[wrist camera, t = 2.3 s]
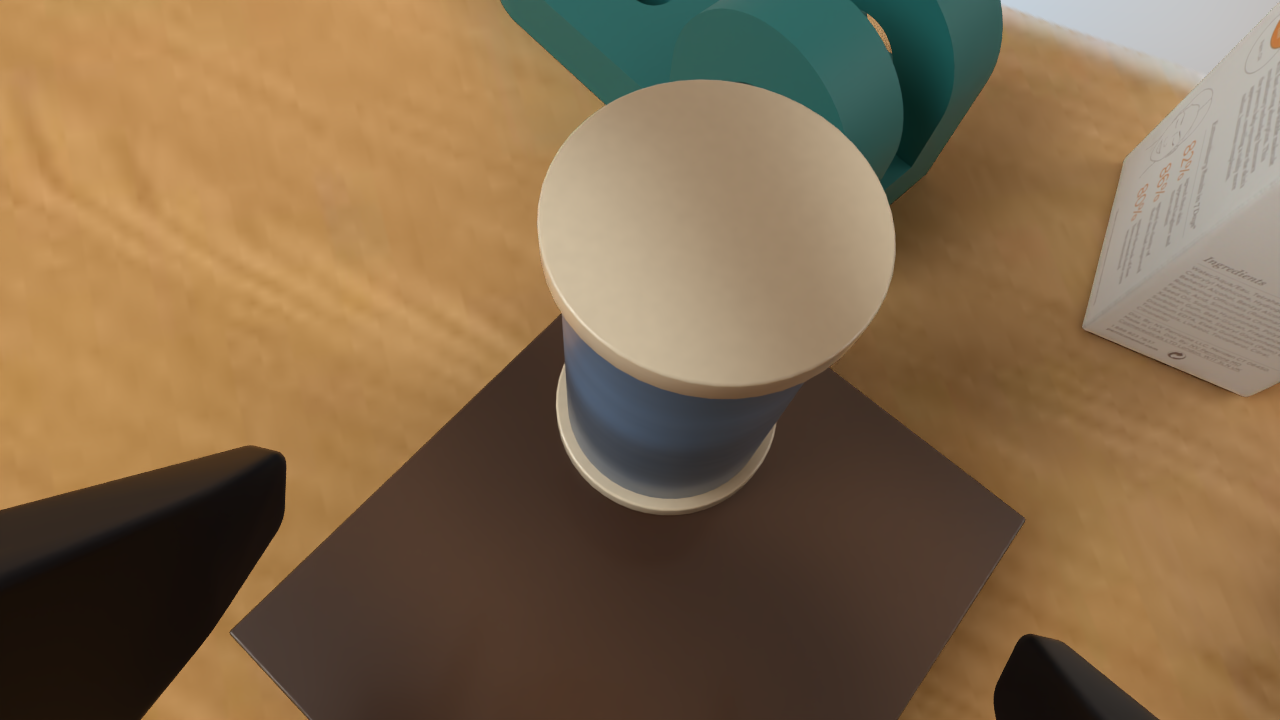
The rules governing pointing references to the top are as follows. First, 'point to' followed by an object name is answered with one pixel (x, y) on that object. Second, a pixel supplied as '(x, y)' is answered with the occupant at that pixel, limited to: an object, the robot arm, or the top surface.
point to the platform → (635, 576)
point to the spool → (702, 281)
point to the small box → (1203, 229)
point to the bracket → (794, 60)
